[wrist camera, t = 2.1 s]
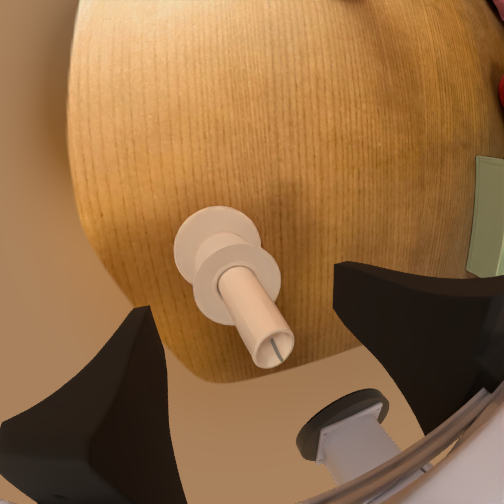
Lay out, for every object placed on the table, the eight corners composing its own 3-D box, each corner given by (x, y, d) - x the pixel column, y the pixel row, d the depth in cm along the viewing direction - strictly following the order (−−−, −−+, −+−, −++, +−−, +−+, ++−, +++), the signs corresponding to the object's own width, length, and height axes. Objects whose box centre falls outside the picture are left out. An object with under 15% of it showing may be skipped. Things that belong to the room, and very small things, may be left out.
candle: (252, 196, 17) (362, 254, 7) (264, 276, 18) (353, 385, 9) (164, 217, 15) (160, 312, 6) (185, 297, 17) (214, 435, 8)
